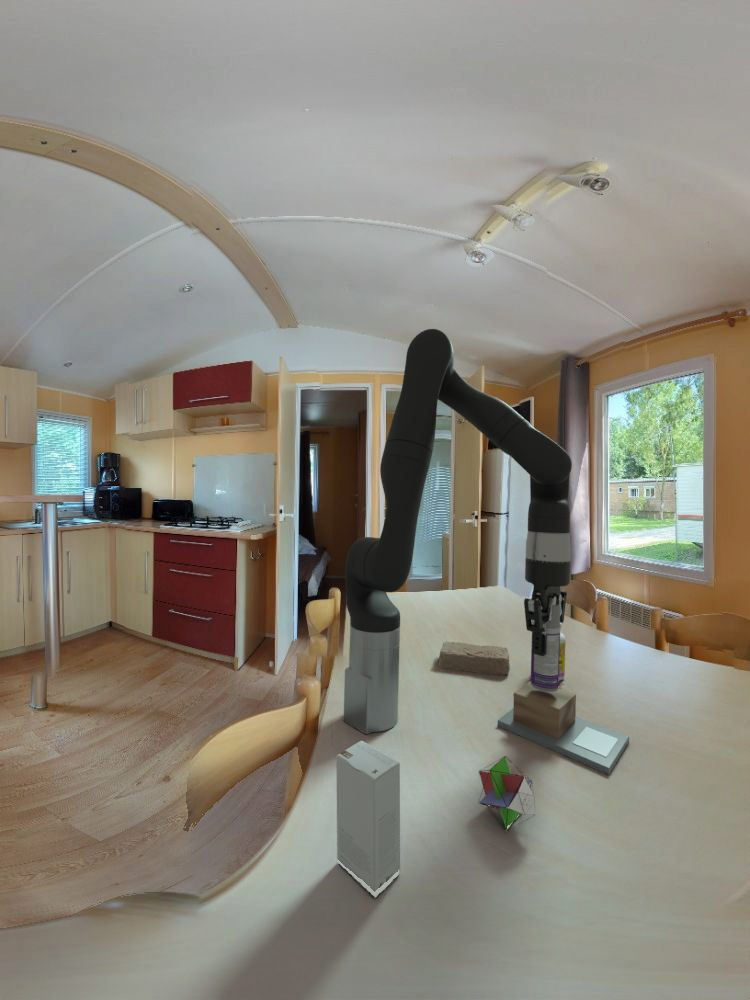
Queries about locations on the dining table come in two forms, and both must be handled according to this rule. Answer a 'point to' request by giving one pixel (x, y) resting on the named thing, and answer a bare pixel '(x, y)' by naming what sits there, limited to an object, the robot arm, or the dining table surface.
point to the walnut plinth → (545, 710)
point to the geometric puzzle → (507, 792)
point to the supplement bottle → (562, 656)
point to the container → (548, 657)
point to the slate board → (577, 741)
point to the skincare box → (368, 813)
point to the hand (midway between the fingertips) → (545, 650)
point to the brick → (475, 658)
